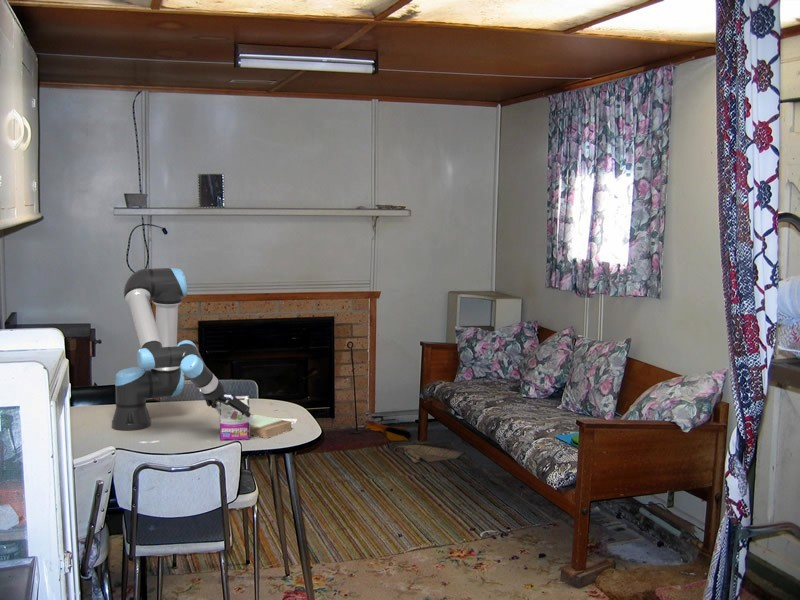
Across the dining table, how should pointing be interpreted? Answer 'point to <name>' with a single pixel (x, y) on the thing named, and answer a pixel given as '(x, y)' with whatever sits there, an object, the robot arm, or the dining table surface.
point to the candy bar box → (233, 422)
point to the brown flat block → (271, 429)
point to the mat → (263, 421)
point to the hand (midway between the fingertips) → (238, 417)
